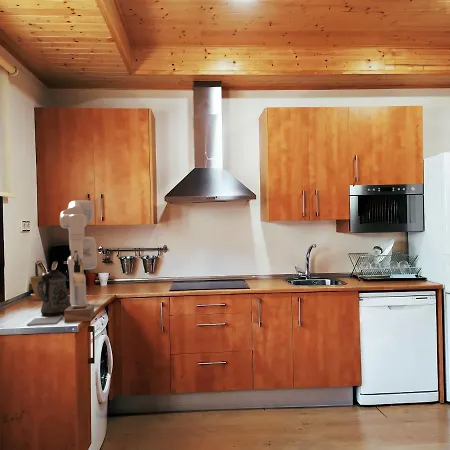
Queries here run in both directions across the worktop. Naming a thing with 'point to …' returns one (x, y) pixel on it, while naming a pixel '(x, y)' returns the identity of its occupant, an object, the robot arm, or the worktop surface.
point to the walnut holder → (79, 313)
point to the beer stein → (53, 294)
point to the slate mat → (44, 321)
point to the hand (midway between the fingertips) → (78, 271)
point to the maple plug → (78, 275)
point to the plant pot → (34, 284)
